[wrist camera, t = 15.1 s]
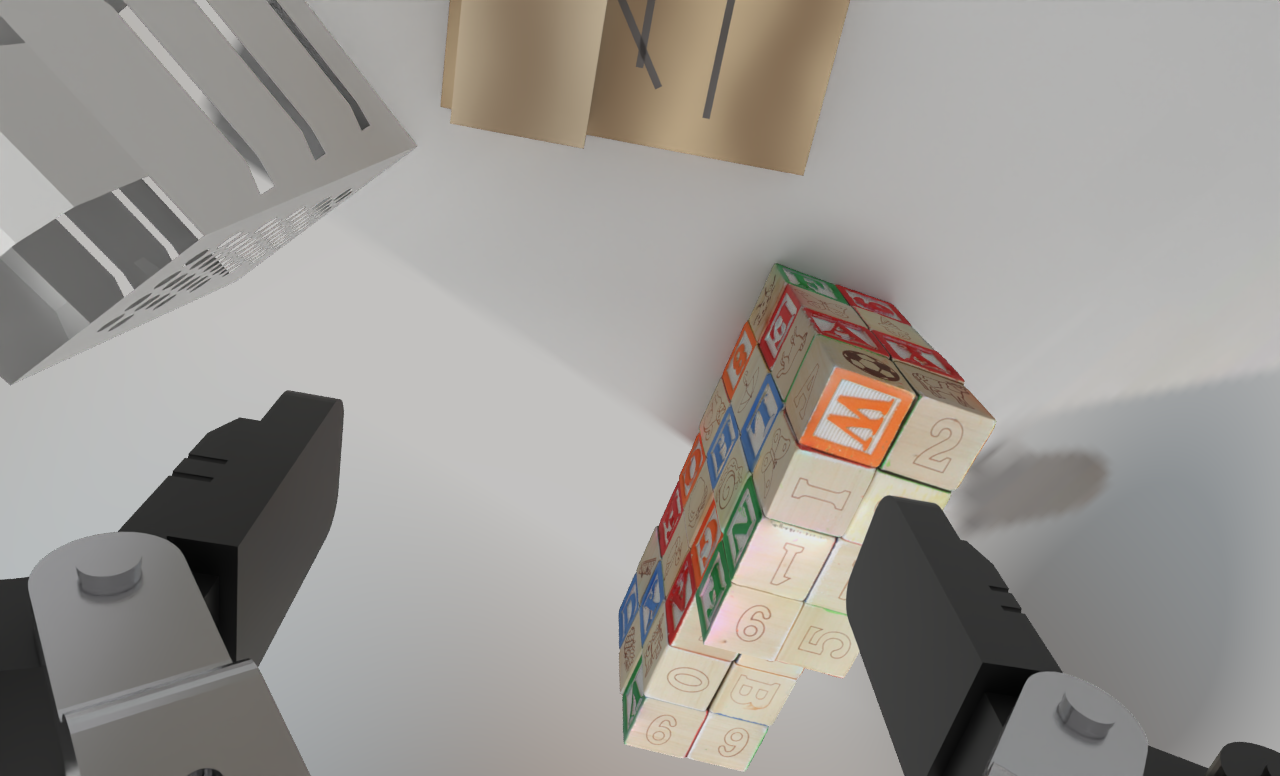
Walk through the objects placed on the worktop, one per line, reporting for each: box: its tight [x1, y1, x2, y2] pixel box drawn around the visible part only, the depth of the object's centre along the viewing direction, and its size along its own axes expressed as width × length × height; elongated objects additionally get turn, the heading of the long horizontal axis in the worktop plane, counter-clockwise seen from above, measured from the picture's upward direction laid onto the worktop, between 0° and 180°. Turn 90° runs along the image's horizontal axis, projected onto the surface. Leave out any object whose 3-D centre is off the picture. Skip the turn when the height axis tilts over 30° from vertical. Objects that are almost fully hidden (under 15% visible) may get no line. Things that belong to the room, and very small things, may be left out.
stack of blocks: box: [619, 264, 996, 771], centre depth 38 cm, size 21×6×12 cm, turn 160°
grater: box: [0, 0, 417, 385], centre depth 26 cm, size 10×10×20 cm
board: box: [441, 0, 850, 176], centre depth 34 cm, size 15×10×2 cm, turn 79°
